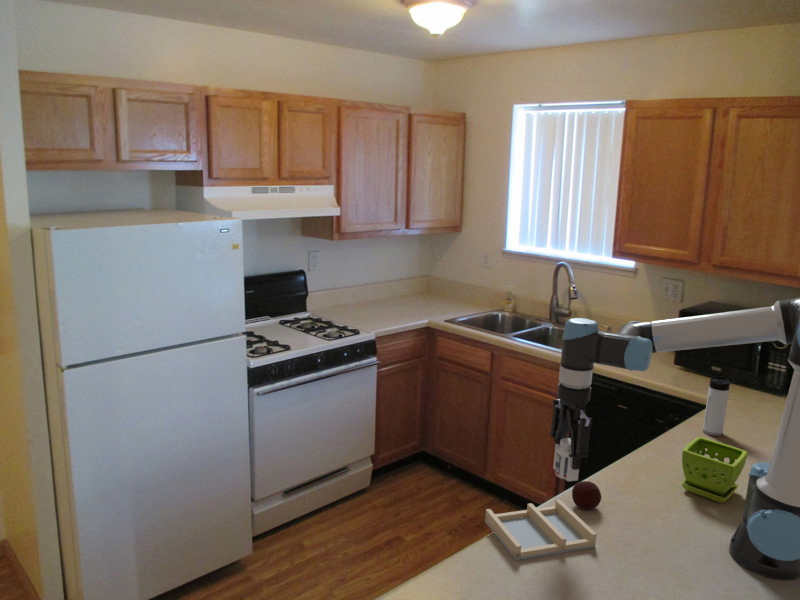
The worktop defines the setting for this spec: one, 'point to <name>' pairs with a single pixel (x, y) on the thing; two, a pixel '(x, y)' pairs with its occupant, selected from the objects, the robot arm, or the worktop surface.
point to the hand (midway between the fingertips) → (565, 474)
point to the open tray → (541, 531)
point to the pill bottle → (563, 458)
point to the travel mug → (716, 406)
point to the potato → (586, 495)
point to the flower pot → (712, 468)
